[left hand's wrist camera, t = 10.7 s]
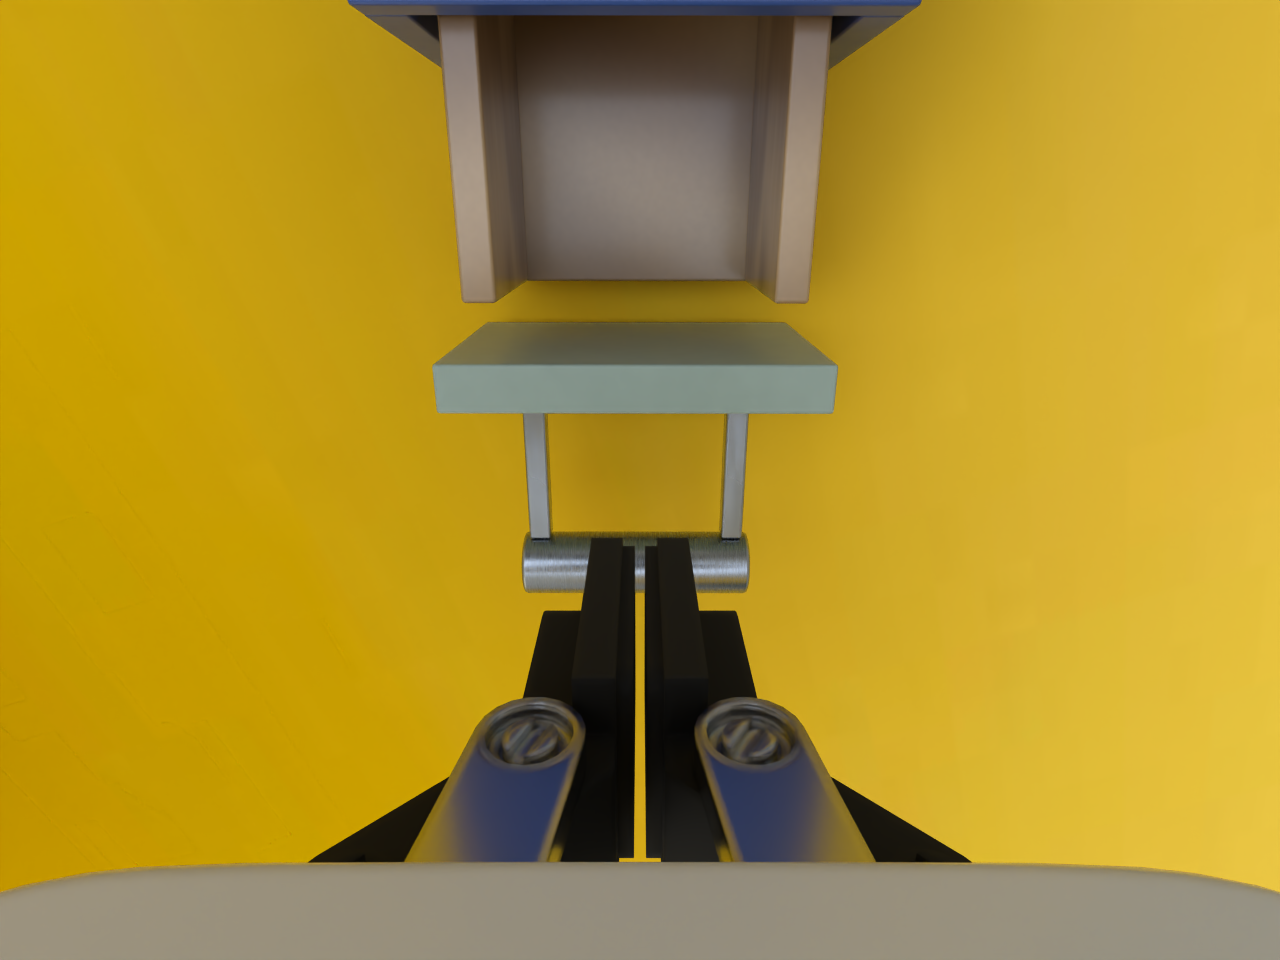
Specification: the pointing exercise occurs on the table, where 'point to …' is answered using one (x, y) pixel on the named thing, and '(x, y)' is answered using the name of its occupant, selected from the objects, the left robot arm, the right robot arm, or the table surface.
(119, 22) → the table surface
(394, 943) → the left robot arm
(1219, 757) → the table surface
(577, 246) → the drawer
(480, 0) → the cabinet
